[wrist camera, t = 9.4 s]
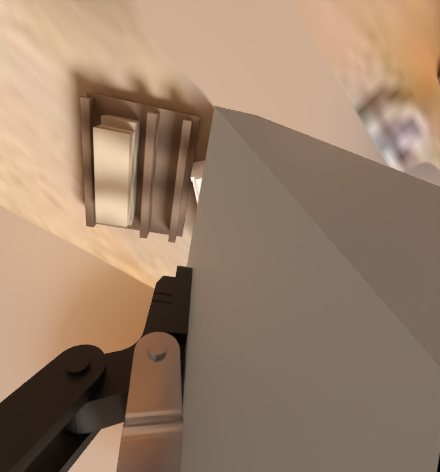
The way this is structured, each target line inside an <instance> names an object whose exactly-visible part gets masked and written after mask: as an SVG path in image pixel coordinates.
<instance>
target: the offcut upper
mask: <svg viewBox="0 0 440 472" xmlns="http://www.w3.org/2000/svg"><path fill="white" fill-rule="evenodd" d="M93 143H94V175H95V208H96V223H103V224H109V225H116V226H122V227H127V226H128V224H129V223H130V221H131V218H132V194H133V171H134V147H135V132H133V131H129V130H124V129H119V128H114V127H109V126H104V125H99V126H95V127H93Z"/></svg>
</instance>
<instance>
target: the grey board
mask: <svg viewBox="0 0 440 472" xmlns="http://www.w3.org/2000/svg"><path fill="white" fill-rule="evenodd" d="M187 267H191V268H193V271H192V285H191V298H190V311H189V325H188V335H187V340H186V345H185V350H184V355H183V360H182V365H181V394H182V416H183V420H184V424H183V443H182V458H181V472H440V187H439V186H436V185H434V184H431V183H429V182H426V181H424V180H421V179H418V178H416V177H413V176H410V175H408V174H406V173H403V172H401V171H398V170H395V169H393V168H390V167H388V166H385V165H382V164H380V163H377V162H375V161H372V160H370V159H367V158H364V157H362V156H359V155H357V154H354V153H352V152H349V151H346V150H344V149H341V148H339V147H336V146H333V145H331V144H328V143H326V142H323V141H321V140H318V139H316V138H313V137H310V136H308V135H305V134H303V133H300V132H297V131H295V130H292V129H290V128H287V127H284V126H282V125H280V124H277V123H274V122H272V121H269V120H267V119H264V118H262V117H259V116H256V115H252V114H247V113H243V112H238V111H234V110H230V109H225V108H220V107H217V106H214V112H213V118H212V123H211V129H210V135H209V141H208V147H207V153H206V158H205V164H204V170H203V176H202V182H201V187H200V193H199V199H198V205H197V211H196V217H195V222H194V228H193V234H192V240H191V246H190V251H189V257H188V263H187Z"/></svg>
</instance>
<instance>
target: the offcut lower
mask: <svg viewBox="0 0 440 472" xmlns="http://www.w3.org/2000/svg"><path fill="white" fill-rule="evenodd" d="M101 125H104V126H109V127H114V128H119V129H124V130H129V131H133V132H135V147H134V171H133V194H132V218H131V221H130V223H129V224H128V225H132V223H133V221H134V220H135V215H136V195H137V175H138V154H139V134H140V121H136V120H131V119H126V118H122V117H117V116H112V115H103V116H101Z"/></svg>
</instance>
